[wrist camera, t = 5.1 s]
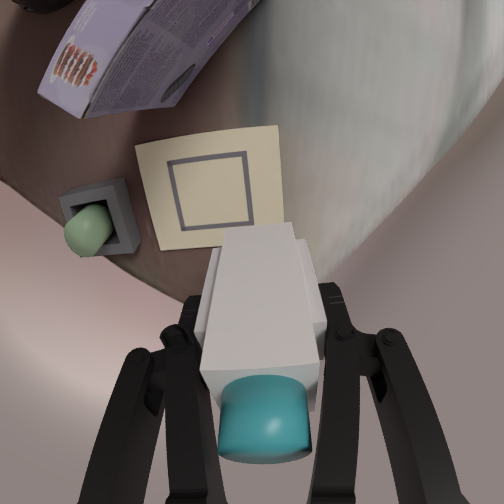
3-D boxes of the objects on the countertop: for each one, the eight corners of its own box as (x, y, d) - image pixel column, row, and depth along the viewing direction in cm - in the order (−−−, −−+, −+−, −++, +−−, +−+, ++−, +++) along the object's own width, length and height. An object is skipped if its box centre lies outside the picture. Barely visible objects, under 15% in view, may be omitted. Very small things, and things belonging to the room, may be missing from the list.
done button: (77, 206, 30) (58, 222, 27) (107, 200, 30) (89, 216, 26) (89, 239, 33) (73, 258, 29) (119, 236, 33) (104, 255, 29)
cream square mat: (136, 145, 29) (134, 145, 28) (277, 125, 27) (277, 125, 27) (161, 248, 36) (160, 250, 36) (284, 239, 35) (284, 241, 35)
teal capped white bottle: (225, 228, 17) (189, 436, 7) (291, 221, 17) (329, 430, 6) (236, 280, 19) (219, 465, 9) (294, 274, 19) (319, 461, 9)
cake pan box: (245, -39, 17) (232, -134, 2) (283, -20, 18) (308, -111, 3) (140, 88, 25) (30, 102, 10) (176, 109, 27) (86, 136, 12)
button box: (70, 189, 31) (58, 197, 29) (124, 176, 31) (113, 184, 28) (89, 246, 36) (80, 257, 33) (142, 240, 35) (134, 252, 33)
